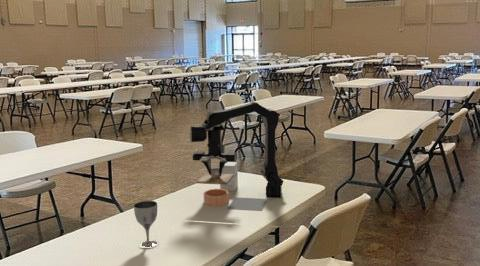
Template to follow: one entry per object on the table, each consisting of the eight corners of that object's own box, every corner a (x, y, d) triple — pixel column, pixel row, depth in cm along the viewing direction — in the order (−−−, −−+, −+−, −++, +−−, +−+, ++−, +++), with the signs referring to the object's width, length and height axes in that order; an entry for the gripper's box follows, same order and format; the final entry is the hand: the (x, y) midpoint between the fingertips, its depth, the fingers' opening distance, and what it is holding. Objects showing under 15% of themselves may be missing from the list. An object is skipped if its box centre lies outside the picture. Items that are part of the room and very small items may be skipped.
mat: (268, 200, 207) (268, 198, 207) (262, 212, 192) (262, 210, 192) (235, 198, 210) (235, 197, 210) (227, 210, 196) (226, 208, 196)
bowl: (231, 198, 209) (231, 189, 209) (225, 207, 199) (224, 197, 198) (208, 197, 212) (207, 188, 211) (201, 206, 202) (200, 196, 201)
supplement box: (235, 191, 219) (234, 166, 217) (219, 191, 221) (218, 165, 218) (238, 187, 226) (237, 161, 224) (223, 186, 228) (222, 161, 225)
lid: (233, 176, 208) (233, 165, 207) (226, 184, 196) (226, 173, 195) (205, 174, 211) (205, 164, 210) (196, 183, 198) (196, 172, 198)
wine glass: (138, 240, 168) (135, 201, 165) (160, 239, 168) (158, 199, 166) (135, 250, 160) (132, 209, 157) (158, 248, 161) (156, 207, 158)
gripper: (239, 137, 206) (240, 171, 209) (199, 136, 210) (200, 169, 213) (233, 142, 195) (234, 178, 198) (191, 141, 199) (193, 176, 202)
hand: (215, 175), depth 203 cm, fingers closed on lid, 4 cm apart
